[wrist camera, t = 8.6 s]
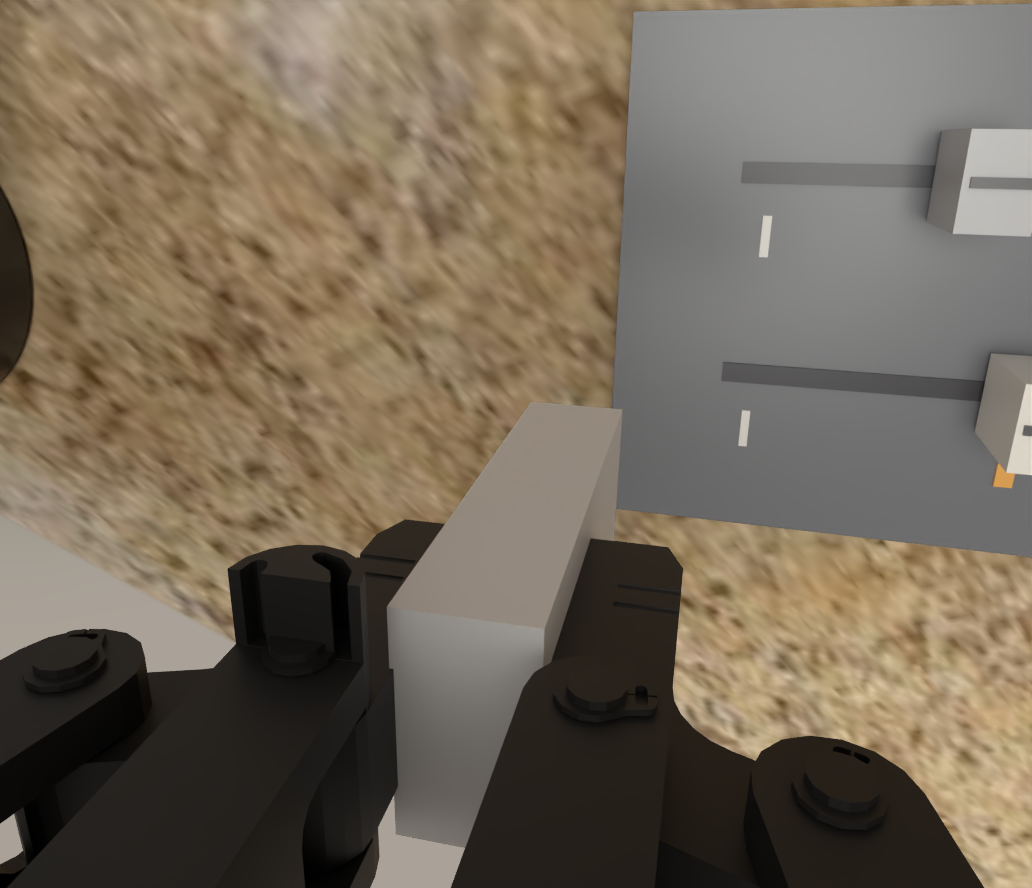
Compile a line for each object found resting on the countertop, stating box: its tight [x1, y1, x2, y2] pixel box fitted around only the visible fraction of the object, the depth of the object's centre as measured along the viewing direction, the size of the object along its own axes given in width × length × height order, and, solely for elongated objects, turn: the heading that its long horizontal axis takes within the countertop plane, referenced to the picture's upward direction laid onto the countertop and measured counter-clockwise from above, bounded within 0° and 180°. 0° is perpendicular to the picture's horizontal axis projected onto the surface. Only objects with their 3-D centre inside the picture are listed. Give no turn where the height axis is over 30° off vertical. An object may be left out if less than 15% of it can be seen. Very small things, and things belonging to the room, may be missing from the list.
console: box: [612, 4, 1032, 557], centre depth 29 cm, size 22×18×5 cm
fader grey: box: [926, 129, 1032, 237], centre depth 25 cm, size 2×3×4 cm
